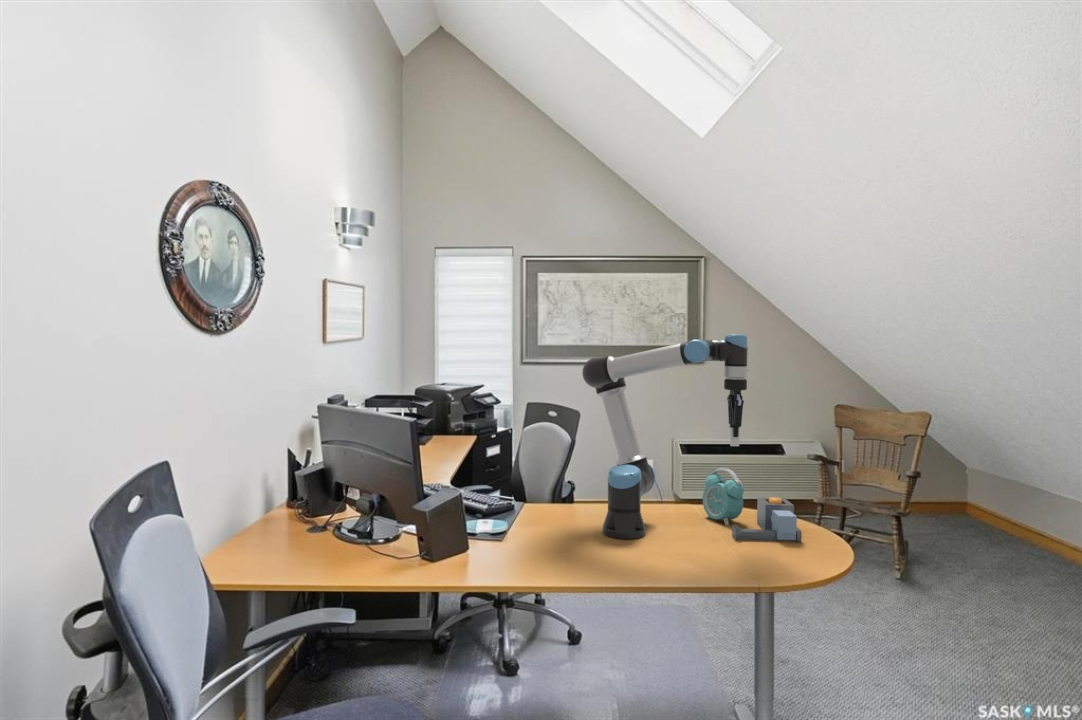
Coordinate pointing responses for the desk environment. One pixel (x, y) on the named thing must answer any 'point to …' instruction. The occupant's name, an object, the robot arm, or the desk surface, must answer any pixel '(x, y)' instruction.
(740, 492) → the alarm clock
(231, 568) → the desk surface
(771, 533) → the rail
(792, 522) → the block
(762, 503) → the cabinet
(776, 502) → the button
